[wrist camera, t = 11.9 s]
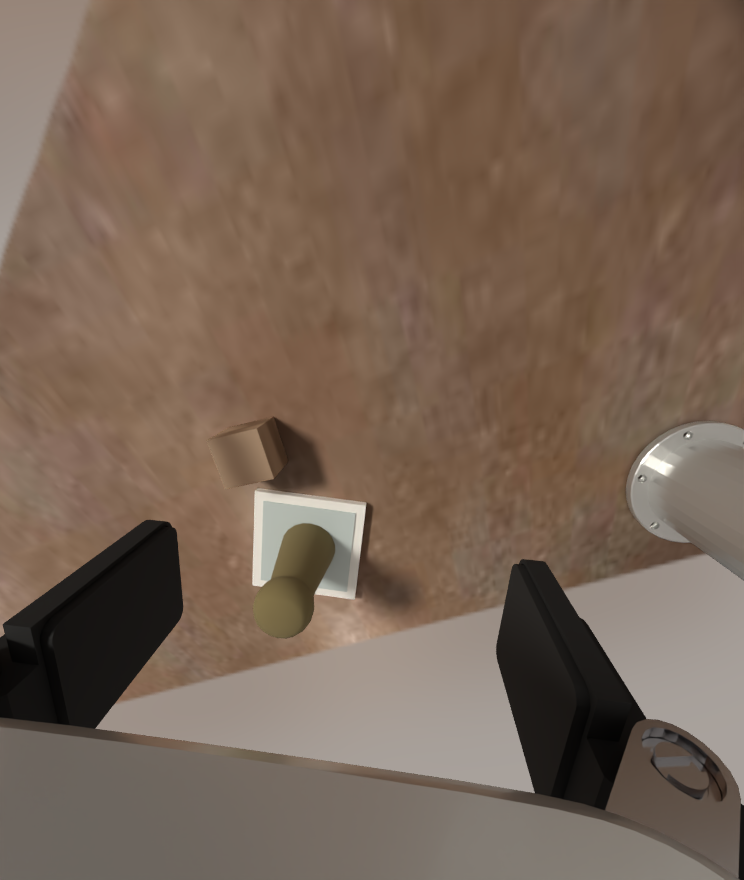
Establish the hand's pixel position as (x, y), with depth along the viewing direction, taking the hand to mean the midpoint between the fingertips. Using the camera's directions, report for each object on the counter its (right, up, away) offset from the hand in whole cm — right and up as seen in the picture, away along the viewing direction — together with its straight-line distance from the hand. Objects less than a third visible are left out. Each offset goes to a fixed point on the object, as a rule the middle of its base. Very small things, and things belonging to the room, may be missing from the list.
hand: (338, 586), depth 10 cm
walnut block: (-11, +4, +29) cm, 32 cm away
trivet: (-6, -8, +32) cm, 34 cm away
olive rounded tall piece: (-6, -8, +32) cm, 33 cm away
